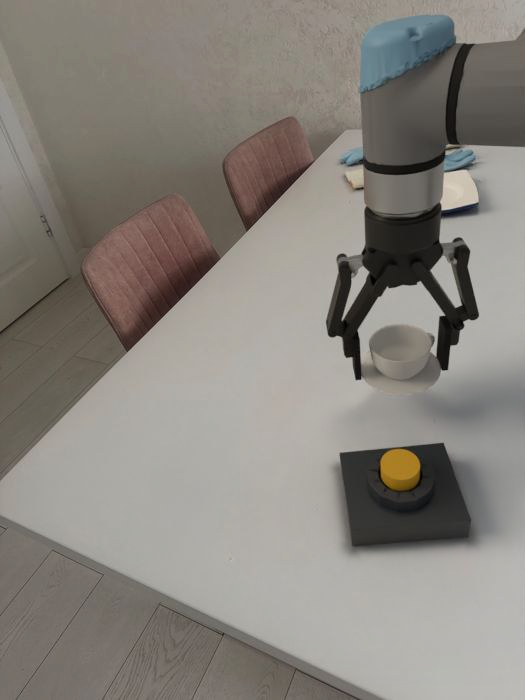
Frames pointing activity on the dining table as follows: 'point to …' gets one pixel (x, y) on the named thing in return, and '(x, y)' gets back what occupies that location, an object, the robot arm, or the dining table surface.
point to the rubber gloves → (451, 163)
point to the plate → (458, 192)
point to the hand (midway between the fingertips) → (399, 368)
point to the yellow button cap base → (403, 499)
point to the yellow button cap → (400, 469)
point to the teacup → (400, 360)
